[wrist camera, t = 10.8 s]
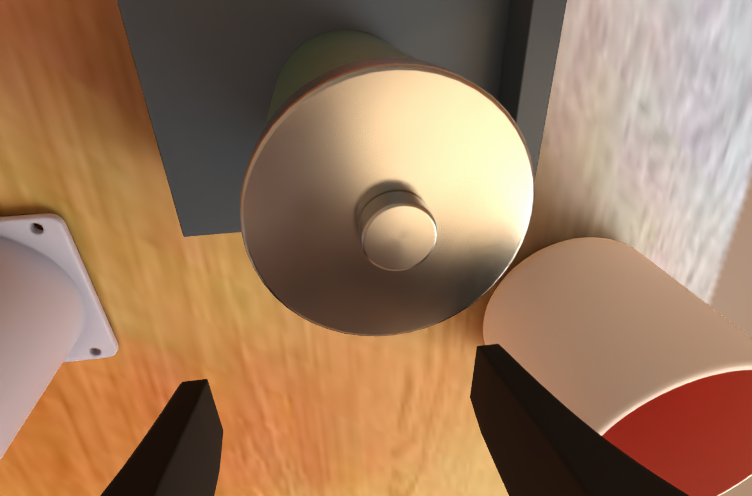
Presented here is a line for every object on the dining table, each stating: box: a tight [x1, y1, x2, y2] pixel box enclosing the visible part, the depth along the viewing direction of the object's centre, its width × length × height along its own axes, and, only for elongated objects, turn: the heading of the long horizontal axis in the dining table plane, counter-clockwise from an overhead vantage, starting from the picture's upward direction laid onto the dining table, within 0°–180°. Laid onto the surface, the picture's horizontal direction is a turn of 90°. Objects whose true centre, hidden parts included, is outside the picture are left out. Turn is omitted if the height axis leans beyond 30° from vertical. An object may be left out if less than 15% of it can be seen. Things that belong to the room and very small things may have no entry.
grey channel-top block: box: [117, 0, 567, 237], centre depth 15 cm, size 12×8×6 cm, turn 91°
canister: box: [240, 30, 535, 336], centre depth 10 cm, size 5×5×8 cm
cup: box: [483, 237, 752, 496], centre depth 21 cm, size 10×10×10 cm
